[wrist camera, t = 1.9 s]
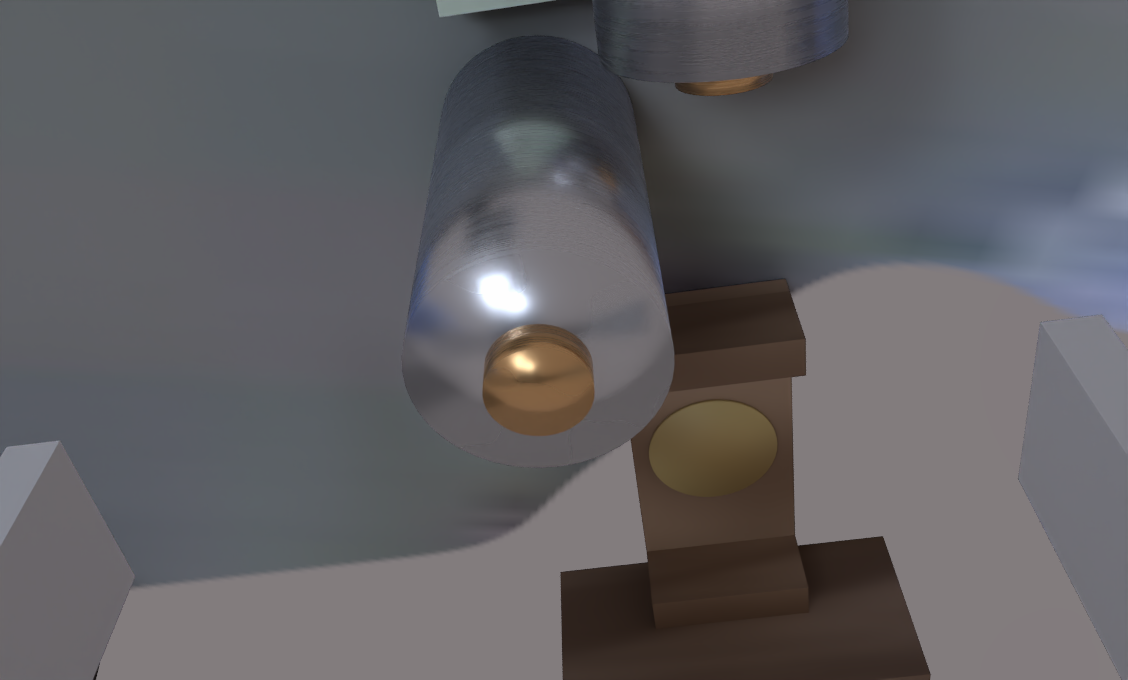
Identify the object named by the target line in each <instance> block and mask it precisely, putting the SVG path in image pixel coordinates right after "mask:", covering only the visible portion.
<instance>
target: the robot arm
mask: <svg viewBox="0 0 1128 680" xmlns="http://www.w3.org/2000/svg"><path fill="white" fill-rule="evenodd" d="M1018 480H1019V482H1020V483H1021V485H1022V487H1023V489H1024V491H1025V493H1026V495H1027V497H1028V499H1029V501H1030V503H1031V505H1032V507H1033V509H1034V511H1035V513H1036V515H1037V516H1038V518H1039V520H1040V522H1041V524H1042V526H1043V528H1044V530H1045V532H1046V534H1047V536H1048V538H1049V540H1050V542H1051V544H1052V545H1053V548H1054V550H1055V552H1056V553H1057V555H1058V557H1059V559H1060V561H1061V563H1062V565H1063V567H1064V569H1065V571H1066V573H1067V575H1068V577H1069V579H1070V581H1071V583H1072V585H1073V587H1074V588H1075V590H1076V592H1077V594H1078V596H1079V598H1080V600H1081V602H1082V604H1083V606H1084V608H1085V610H1086V612H1087V614H1088V616H1089V617H1090V619H1091V621H1092V623H1093V625H1094V627H1095V629H1096V631H1097V633H1098V635H1099V637H1100V639H1101V641H1102V643H1103V645H1104V647H1105V649H1106V651H1107V653H1108V654H1109V656H1110V658H1111V660H1112V662H1113V664H1114V666H1115V668H1116V670H1117V672H1118V674H1119V676H1120V678H1121V680H1128V349H1127V348H1126V347H1125V345H1124V344H1123V343H1122V341H1121V340H1120V338H1119V337H1118V336H1117V334H1116V333H1115V332H1114V330H1113V329H1112V328H1111V326H1110V325H1109V324H1108V322H1107V321H1106V320H1105V318H1104V317H1103V315H1094V316H1086V317H1078V318H1070V319H1062V320H1053V321H1046V322H1040V328H1039V335H1038V342H1037V350H1036V356H1035V363H1034V370H1033V377H1032V385H1031V391H1030V399H1029V406H1028V413H1027V421H1026V427H1025V434H1024V441H1023V448H1022V456H1021V463H1020V470H1019V476H1018ZM134 578H135V575H134V573H133V571H132V570H131V568H130V566H129V564H128V562H127V561H126V559H125V557H124V555H123V553H122V552H121V550H120V548H119V546H118V544H117V543H116V541H115V539H114V537H113V535H112V534H111V532H110V530H109V528H108V526H107V525H106V523H105V521H104V519H103V517H102V516H101V514H100V512H99V510H98V508H97V507H96V505H95V503H94V501H93V499H92V498H91V496H90V494H89V492H88V490H87V489H86V487H85V485H84V483H83V481H82V480H81V478H80V476H79V474H78V472H77V471H76V469H75V467H74V465H73V463H72V462H71V460H70V458H69V456H68V454H67V452H66V451H65V449H64V447H63V445H62V443H61V442H60V440H59V441H51V442H43V443H35V444H26V445H18V446H10V447H6V449H5V450H4V452H3V454H2V455H1V457H0V680H93V678H94V675H95V673H96V671H97V668H98V666H99V663H100V661H101V658H102V656H103V654H104V651H105V649H106V646H107V644H108V641H109V639H110V636H111V634H112V631H113V629H114V627H115V624H116V622H117V619H118V617H119V615H120V612H121V610H122V607H123V605H124V602H125V600H126V597H127V595H128V592H129V590H130V588H131V585H132V583H133V580H134Z"/></svg>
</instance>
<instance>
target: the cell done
mask: <svg viewBox="0 0 1128 680" xmlns="http://www.w3.org/2000/svg"><path fill="white" fill-rule="evenodd" d="M592 3H593V11H594V20H595V28H596V36H597V45H598V53H599V61H600V64H601V65H602V66H603V68H605V69H606V70H608V71H609V72H611V73H614V74H616V75H619V76H623V77H626V78H631V79H636V80H643V81H651V82H666V83H675V87H676V88H677V89H678V90H679V91H681V92H684V93H687V94H692V95H701V96H719V95H729V94H736V93H742V92H746V91H750V90H753V89H756V88H759V87H761V86H763V85H765V84H767V83H768V82H770V81H771V80H772V78H773V73H775V72H779V71H784V70H788V69H791V68H795V67H798V66H802V65H805V64H808V63H810V62H813V61H816V60H818V59H821V58H823V57H825V56H827V55H829V54H831V53H833V52H835V51H836V50H837V49H839V48H840V47H842V45H843V44H844V43H845V42H846V41H847V39H848V0H592Z"/></svg>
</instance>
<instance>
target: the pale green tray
mask: <svg viewBox="0 0 1128 680" xmlns="http://www.w3.org/2000/svg"><path fill="white" fill-rule="evenodd" d="M547 1H554V0H436V3H437V8H438V13H439V17H446V16H453V15H460V14H466V13H473V12H480V11H486V10H493V9H500V8H507V7H513V6H520V5H527V4H533V3H540V2H547Z"/></svg>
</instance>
